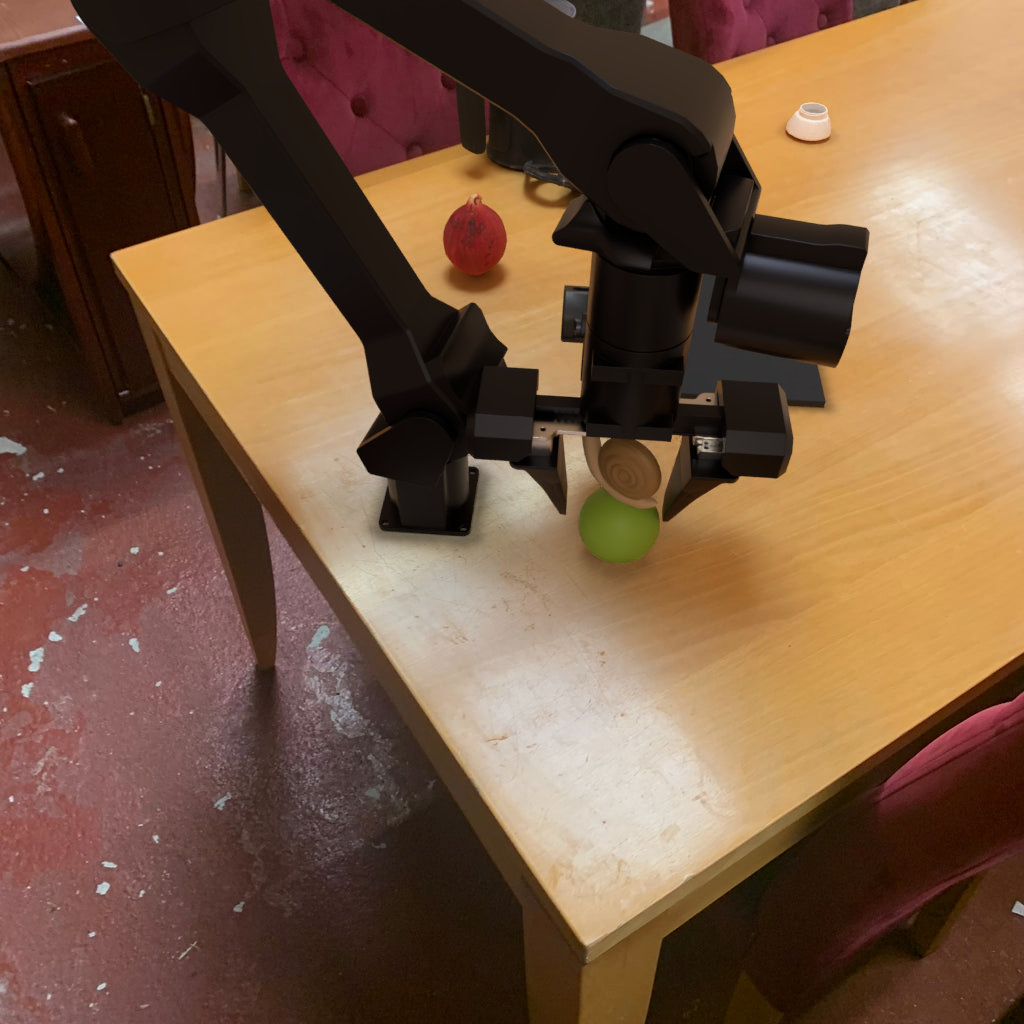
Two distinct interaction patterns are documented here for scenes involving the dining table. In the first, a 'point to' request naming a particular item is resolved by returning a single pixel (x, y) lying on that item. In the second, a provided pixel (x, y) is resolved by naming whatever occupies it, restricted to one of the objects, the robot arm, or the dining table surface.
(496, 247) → the onion
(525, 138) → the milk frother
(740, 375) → the mat
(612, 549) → the snail figurine
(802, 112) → the lidless jar
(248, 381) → the dining table surface
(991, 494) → the dining table surface
